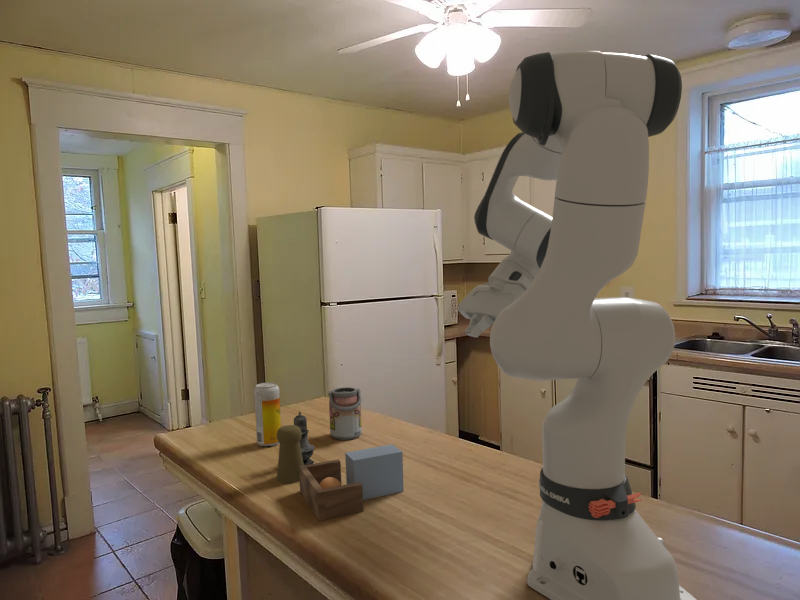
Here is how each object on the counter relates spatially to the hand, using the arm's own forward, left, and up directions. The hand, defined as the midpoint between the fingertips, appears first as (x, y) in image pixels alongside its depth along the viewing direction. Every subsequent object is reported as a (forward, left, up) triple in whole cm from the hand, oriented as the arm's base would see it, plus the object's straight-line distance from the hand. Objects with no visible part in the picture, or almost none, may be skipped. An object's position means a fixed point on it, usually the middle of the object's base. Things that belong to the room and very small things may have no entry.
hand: (470, 334), depth 116 cm
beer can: (+42, +34, -30) cm, 62 cm away
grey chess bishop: (+24, +30, -30) cm, 49 cm away
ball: (+2, +31, -25) cm, 40 cm away
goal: (+2, +30, -29) cm, 42 cm away
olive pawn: (+17, +34, -30) cm, 48 cm away
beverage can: (+38, +15, -30) cm, 50 cm away
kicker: (+2, +21, -29) cm, 36 cm away
